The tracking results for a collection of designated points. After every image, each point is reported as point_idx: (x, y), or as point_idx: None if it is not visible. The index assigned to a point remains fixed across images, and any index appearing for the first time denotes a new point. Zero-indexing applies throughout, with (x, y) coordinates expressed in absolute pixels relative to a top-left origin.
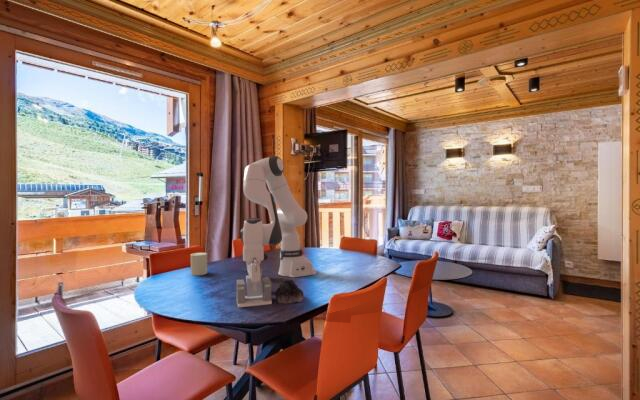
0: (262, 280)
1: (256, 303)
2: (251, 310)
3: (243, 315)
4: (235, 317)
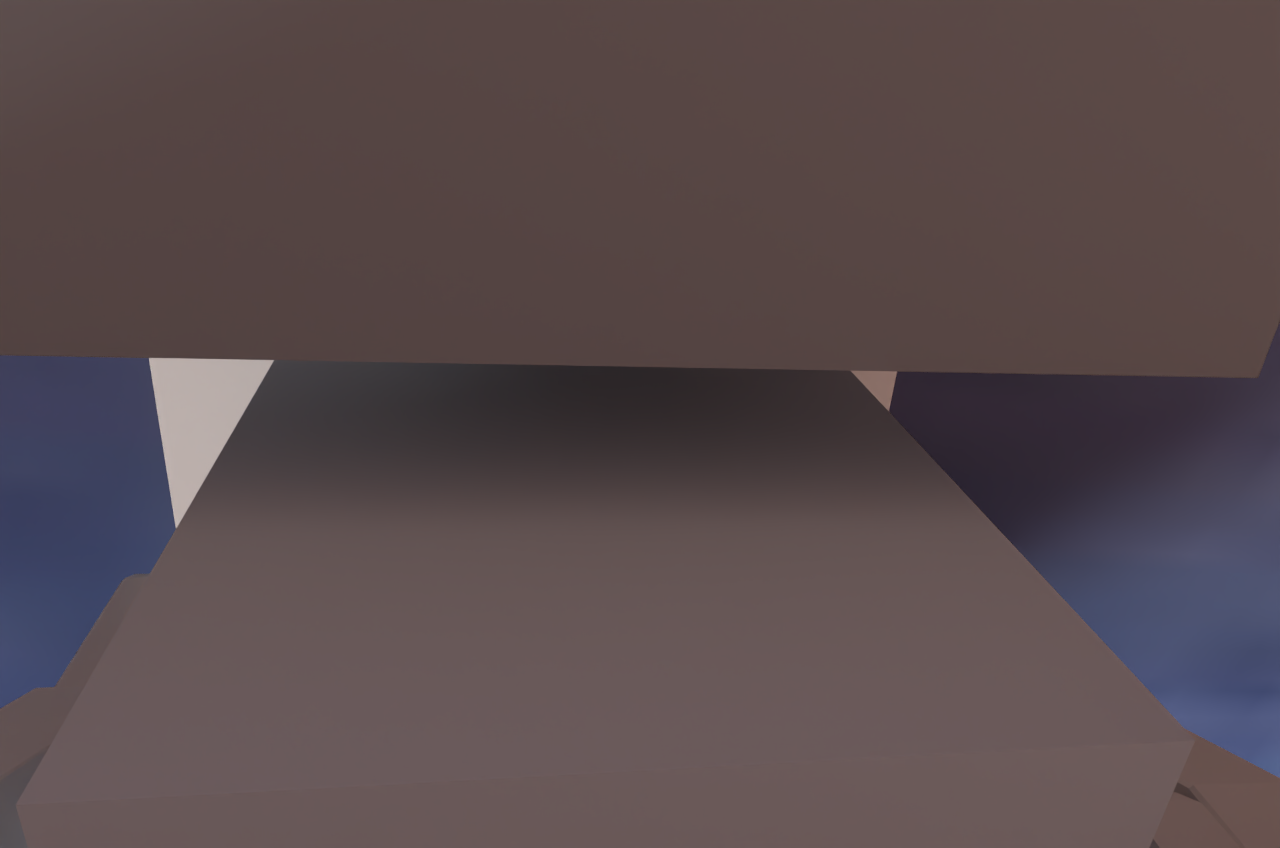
0: (377, 327)
1: (891, 386)
2: (1093, 495)
3: (1236, 637)
4: (1232, 743)
